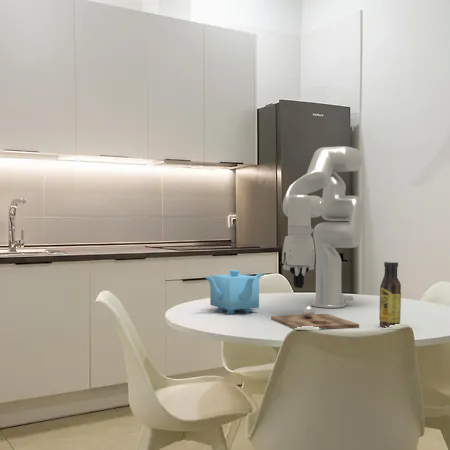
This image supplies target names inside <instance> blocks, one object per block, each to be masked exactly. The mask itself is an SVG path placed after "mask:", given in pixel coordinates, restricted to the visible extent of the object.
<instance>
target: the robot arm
mask: <svg viewBox="0 0 450 450" xmlns="http://www.w3.org/2000/svg"><path fill="white" fill-rule="evenodd" d="M362 162H363V157H362V154H361V152H360V150H359V149H358V148H355V147H352V146H344V145H343V146H340V145H339V146H322V147H319V148H318V149H316V150H315V152H314V153H313V156H312V158H311V160H310V164H309V166H308V169H307V172H306V174H304V175H301V177H299V178H298V179H296V180H295V181H294V182H293V183H292V184H290V185H289V187H288V188H287V189H286V190H287V191H286V192H285V195H284V198H283V201H282V211H283V214H284V215H285V216H286V217H287V235H285V236H284V241H283V247H282V259H281V260H282V262H281V263H282V265H283V267H282V269H283V270H285V271H289V272H290V273H291V274H292V275H293V286H294V288H297V289H302V288H304V287H303V286H304V284H305V277H304V276H306V274H307V273H308V272H309V271H312V270H314V269H315V301H312V302H311V307H315V308H321V309H322V308H325V309H340V308H345V307H346V301H349V302H350V301H354V296H353V295H345V293H342V258H341V255H340V254H339V252H338V251H337V250H336V249H338V248H339V249H353V248H356V247H358V246H359V244H360V242H361V239H362V238H361V237H362V229H363V218H364V205H363V200H362V198H361V197H359V196H357V195H346V189H347V186H346V183H345V181H344V180H343V178H341V176H340V175H339V174H338V173H340V172H341V173H342V172H344V173H345V172H356V171H358V170H359V169H360V168H361V167H362ZM319 190H322V195H321V196H322V197H321V196H318V195H310V194H312V193H315V192H318V191H319ZM319 217H321V218H322V219H323V220H326V221H324V222H319V223H318V224H316V226H315V225H314V228H312V226H311V224H312V223H311V222H312V220H311V219H312V218H313V219H314V218H319ZM327 221H328V222H327ZM312 235H313V236H312Z"/></svg>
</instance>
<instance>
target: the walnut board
mask: <svg viewBox="0 0 450 450" xmlns="http://www.w3.org/2000/svg"><path fill="white" fill-rule="evenodd" d="M270 320H272V321H274V322H277V323H279V324H282V325H283V326H286V327H289V328H291V329H293V330H295V329H294V328H297V327H302V326H313V327H319V328H327V329H326V330H337V329H339V330H340V329H349V328H350V329H354V328H360V324H359V323H357V322H353V321H351V320H348V319H345V318H342V317H338V316H336V315H335V316H334V315H333V314H328V313H316V314H315V313H314V315H313V316H312V317H311V318H305V317H304V316H303V315H302V314H294V315H293V314H292V315H290V314H289V315H287V314H286V315H271V316H270Z"/></svg>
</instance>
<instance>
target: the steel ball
mask: <svg viewBox="0 0 450 450" xmlns="http://www.w3.org/2000/svg"><path fill="white" fill-rule="evenodd" d="M313 307H314V306H312V305H305V306H303V308H302V309H301V315H303V316H304V317H305V318H311V317H312V316H313V315H314V314H315V309H314V308H313Z"/></svg>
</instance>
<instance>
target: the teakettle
mask: <svg viewBox="0 0 450 450" xmlns="http://www.w3.org/2000/svg"><path fill="white" fill-rule="evenodd" d="M264 275H265V273H258V274H256V275H248V274H241V273H240V270H237V269H231V270H229V274H213V275H212V274H211V275H210V276H203V278H204V279H206V280H207V281H208V283H209V286H210V291H209V293H210V298H209V299H210V306H213V307H217V310H216V312H219V311H222V312H225V311H226V310H227V311H226V313H227V314H226V315H235V314H236V311H241V310H240V309H242V310H243V312H244V313H245V312H252V313H253V310H252V309H259V308H260V278H261V277H262V276H264Z"/></svg>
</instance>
